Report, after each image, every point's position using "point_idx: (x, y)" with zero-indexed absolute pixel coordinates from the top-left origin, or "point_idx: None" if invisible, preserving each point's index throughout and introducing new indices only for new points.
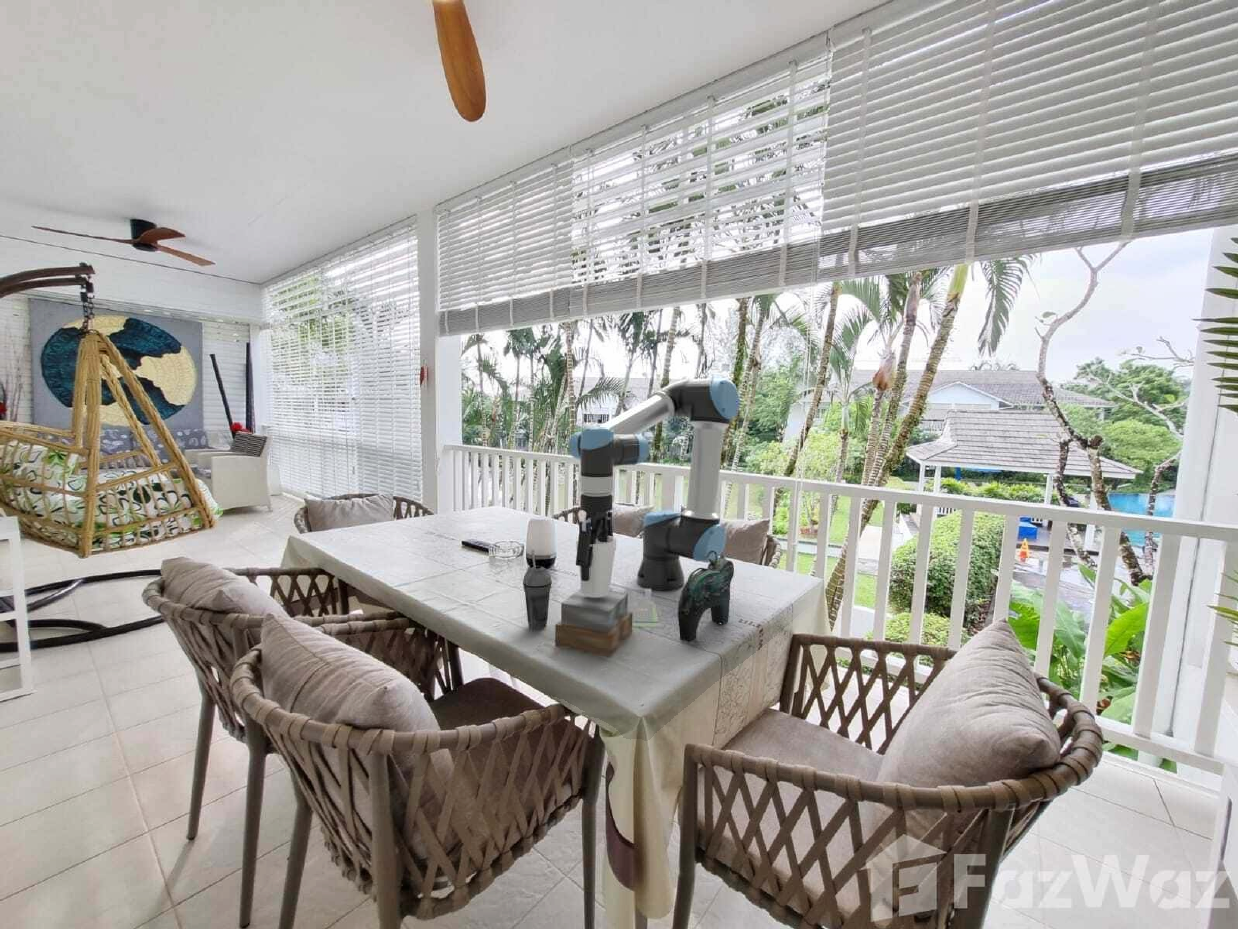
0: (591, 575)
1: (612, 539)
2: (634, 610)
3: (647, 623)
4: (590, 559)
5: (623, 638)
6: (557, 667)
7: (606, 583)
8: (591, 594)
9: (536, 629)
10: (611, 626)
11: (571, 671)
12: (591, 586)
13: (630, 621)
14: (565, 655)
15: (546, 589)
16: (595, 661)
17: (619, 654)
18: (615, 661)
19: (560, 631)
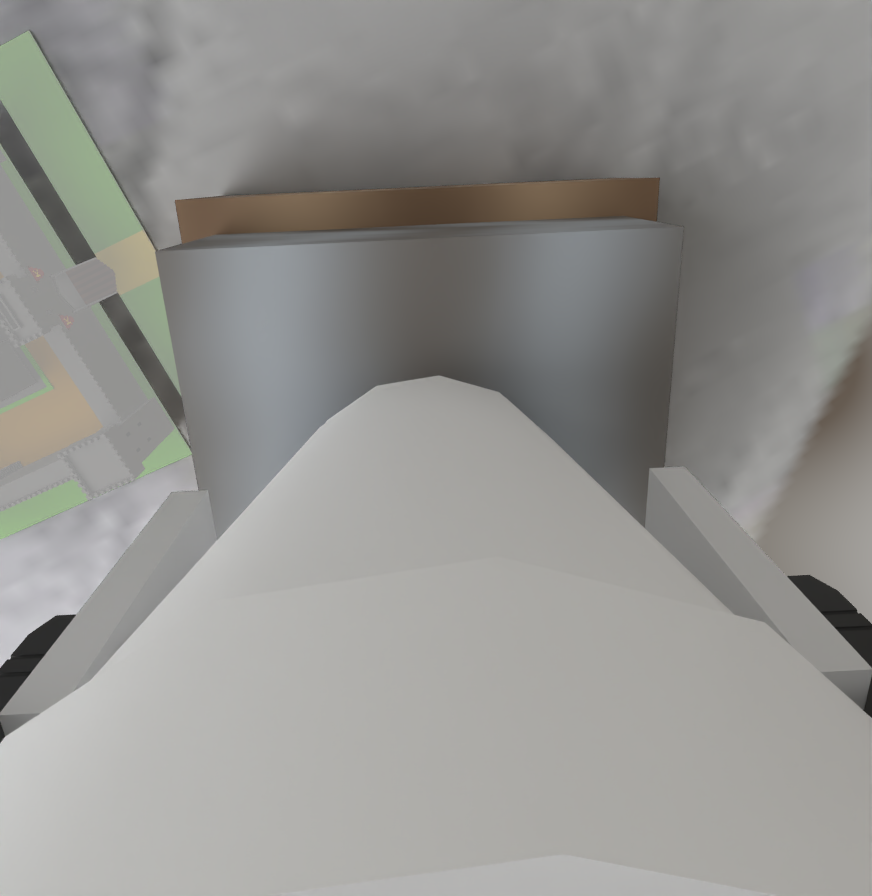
0: (791, 582)
1: None
2: (1, 270)
3: (40, 140)
4: None
5: (390, 188)
6: (814, 399)
7: (491, 412)
8: (679, 467)
9: None
10: (569, 220)
11: (835, 312)
12: (720, 506)
13: (239, 196)
14: (682, 426)
15: None
16: (692, 241)
17: (559, 138)
18: (652, 123)
19: None
